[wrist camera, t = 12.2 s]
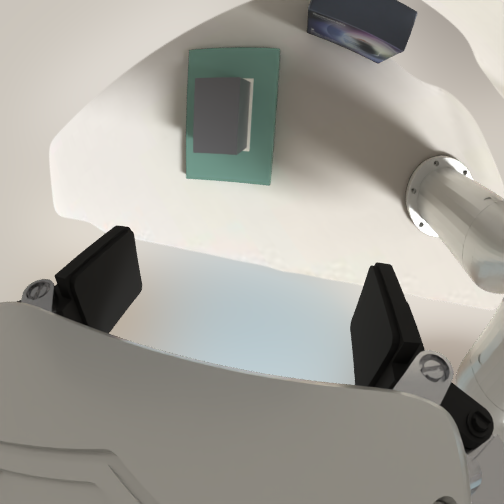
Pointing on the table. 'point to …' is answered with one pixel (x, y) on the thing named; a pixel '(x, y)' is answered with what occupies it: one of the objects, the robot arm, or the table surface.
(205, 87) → the block
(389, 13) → the small box
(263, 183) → the board
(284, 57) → the table surface
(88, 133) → the table surface
